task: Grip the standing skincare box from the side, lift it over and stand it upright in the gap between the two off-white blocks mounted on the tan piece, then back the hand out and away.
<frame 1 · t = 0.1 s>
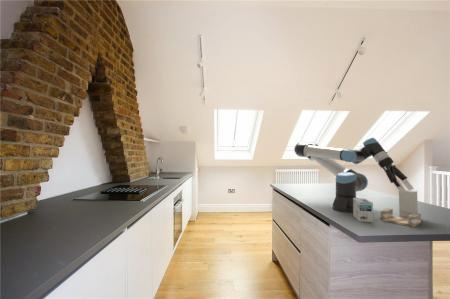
hand: (407, 190, 134), 15 cm above the worktop, tool tilted 35°, fingers open, 13 cm apart
light bulb box: (362, 219, 128), on the worktop
tan piece: (400, 221, 125), on the worktop
skincare box: (408, 218, 132), on the worktop
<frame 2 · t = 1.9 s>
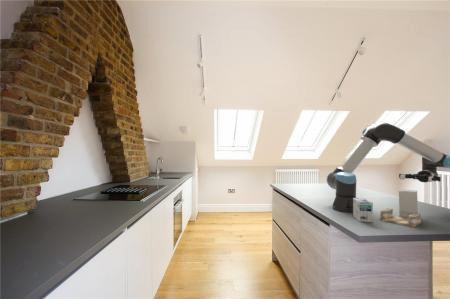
hand: (414, 178, 139), 22 cm above the worktop, tool horizontal, fingers open, 13 cm apart
nothing on the worktop moved.
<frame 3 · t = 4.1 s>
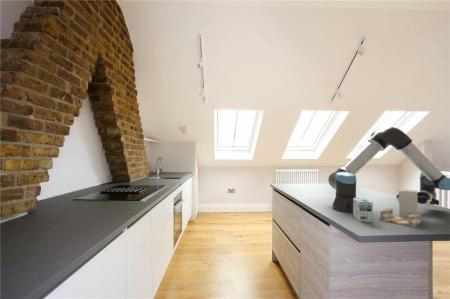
hand: (412, 201, 135), 9 cm above the worktop, tool horizontal, fingers open, 13 cm apart
nothing on the worktop moved.
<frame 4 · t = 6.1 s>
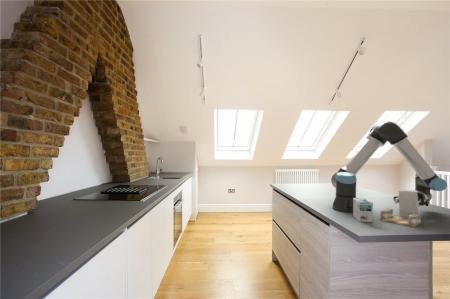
hand: (405, 202, 130), 9 cm above the worktop, tool horizontal, fingers closed on skincare box, 9 cm apart
skincare box: (408, 217, 133), on the worktop, touching gripper
everything else where it was.
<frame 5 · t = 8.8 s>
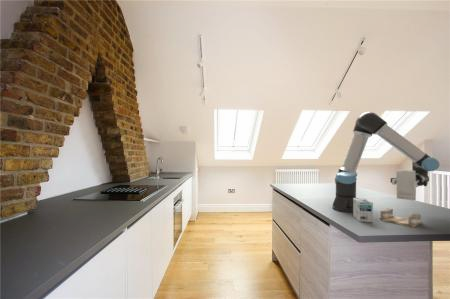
hand: (403, 183, 124), 21 cm above the worktop, tool horizontal, fingers closed on skincare box, 9 cm apart
skincare box: (405, 199, 127), point 12 cm above the worktop, touching gripper
everything else where it was.
when the fingers open (11 cm above the worktop, at t = 11.5 s): skincare box drops 1 cm, resting on tan piece.
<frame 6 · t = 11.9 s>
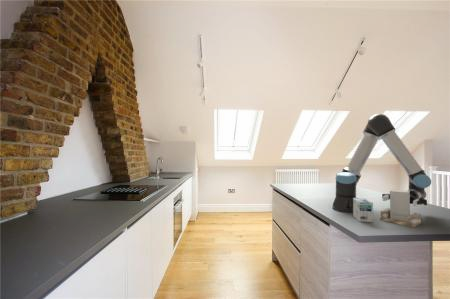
hand: (398, 200, 123), 11 cm above the worktop, tool horizontal, fingers open, 13 cm apart
skincare box: (399, 219, 125), point 1 cm above the worktop, touching tan piece
everything else where it was.
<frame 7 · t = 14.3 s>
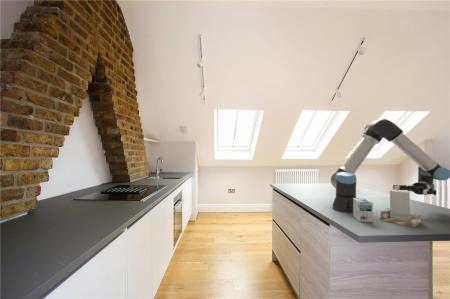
hand: (408, 190, 131), 16 cm above the worktop, tool horizontal, fingers open, 13 cm apart
nothing on the worktop moved.
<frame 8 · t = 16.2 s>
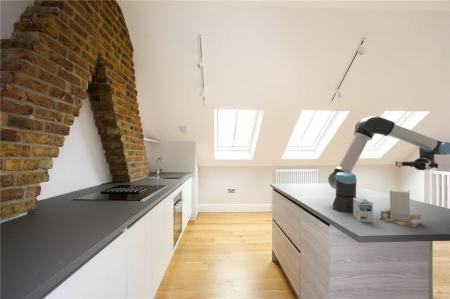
hand: (411, 164, 135), 30 cm above the worktop, tool horizontal, fingers open, 13 cm apart
nothing on the worktop moved.
at the end: skincare box inside the target area (0.1 cm from its centre), point 0.8 cm above the worktop; skincare box tilted 0°; the gripper is holding nothing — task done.
